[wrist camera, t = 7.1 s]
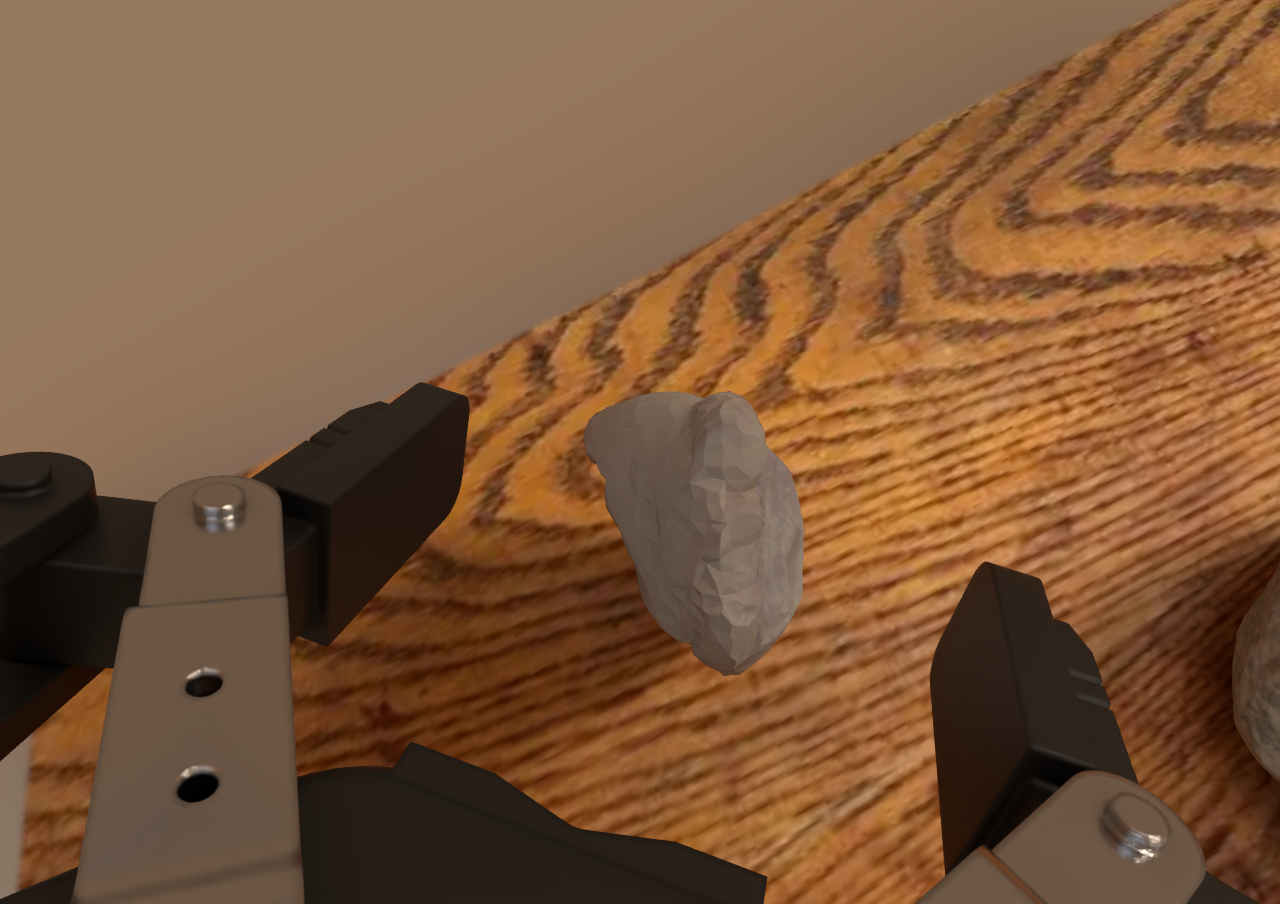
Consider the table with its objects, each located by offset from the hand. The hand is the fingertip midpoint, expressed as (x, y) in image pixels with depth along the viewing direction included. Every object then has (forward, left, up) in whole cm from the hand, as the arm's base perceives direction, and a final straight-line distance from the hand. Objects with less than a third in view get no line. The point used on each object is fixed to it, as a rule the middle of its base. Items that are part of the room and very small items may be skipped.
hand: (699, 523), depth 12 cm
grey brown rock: (0, +1, -9) cm, 9 cm away
